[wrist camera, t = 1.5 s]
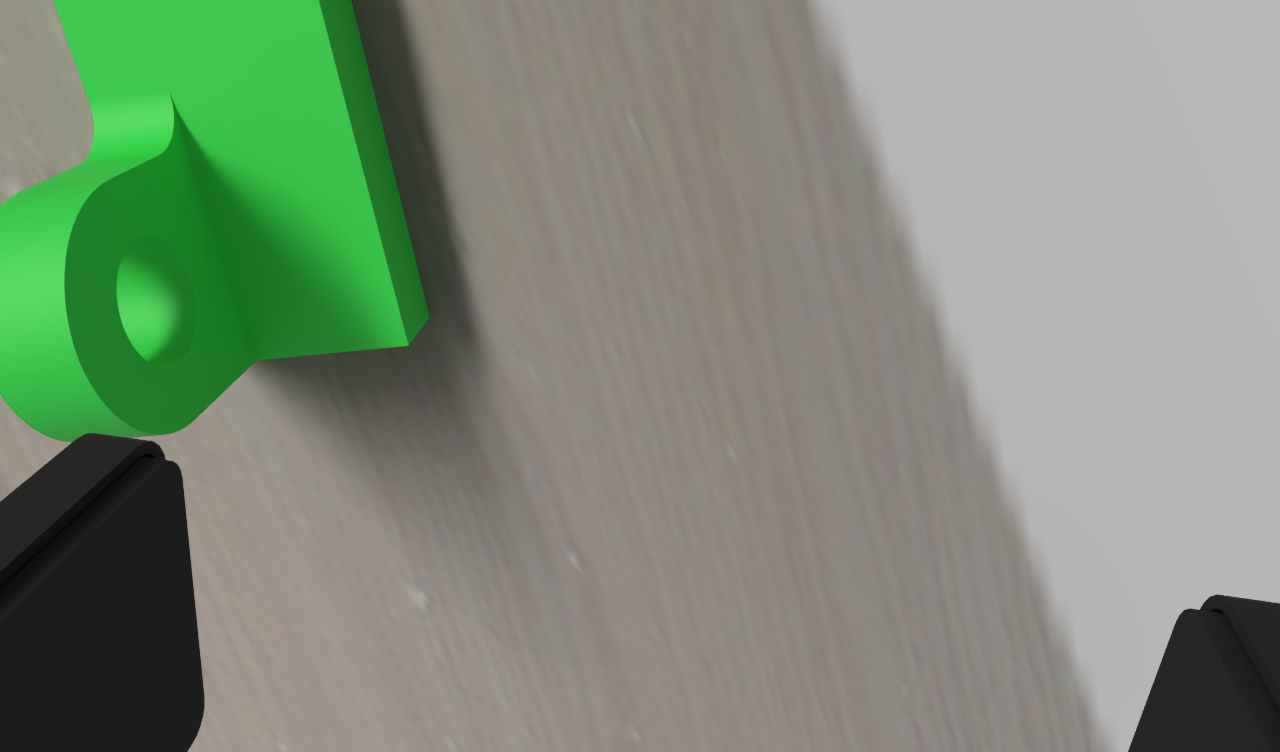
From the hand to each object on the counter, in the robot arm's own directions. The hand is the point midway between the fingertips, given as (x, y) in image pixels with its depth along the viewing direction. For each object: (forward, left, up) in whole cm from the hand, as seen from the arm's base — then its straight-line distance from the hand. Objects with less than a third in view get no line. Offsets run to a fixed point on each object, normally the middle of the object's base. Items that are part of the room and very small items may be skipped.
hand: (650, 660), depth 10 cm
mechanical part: (0, -12, -19) cm, 22 cm away
